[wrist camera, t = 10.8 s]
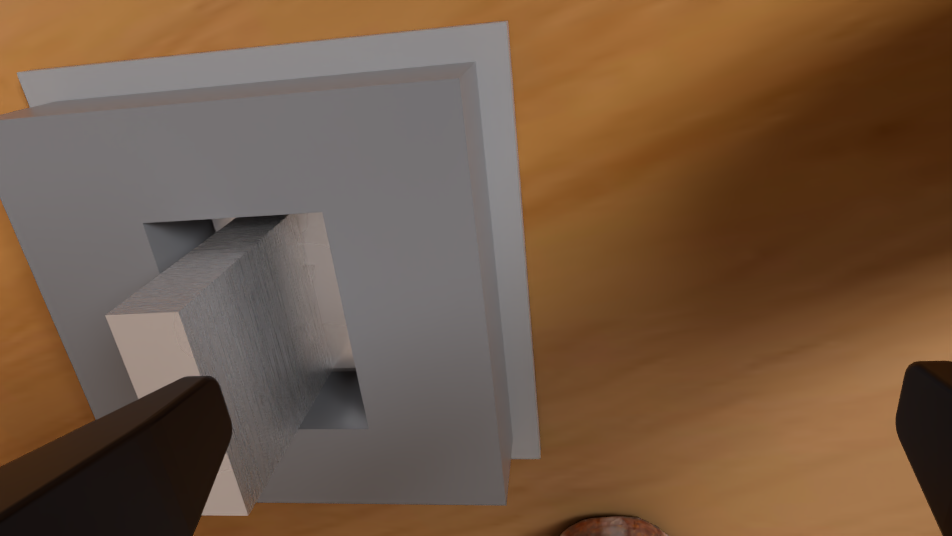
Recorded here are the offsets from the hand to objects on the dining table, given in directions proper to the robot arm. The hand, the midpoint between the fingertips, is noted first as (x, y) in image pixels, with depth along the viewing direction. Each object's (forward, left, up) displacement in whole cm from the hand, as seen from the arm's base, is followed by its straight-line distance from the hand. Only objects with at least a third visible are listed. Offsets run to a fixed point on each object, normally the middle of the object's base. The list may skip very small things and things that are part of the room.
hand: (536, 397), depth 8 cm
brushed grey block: (+9, +4, -12) cm, 16 cm away
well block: (+9, +4, -13) cm, 16 cm away
